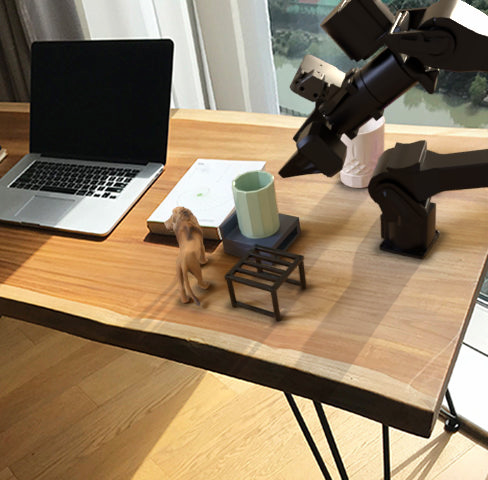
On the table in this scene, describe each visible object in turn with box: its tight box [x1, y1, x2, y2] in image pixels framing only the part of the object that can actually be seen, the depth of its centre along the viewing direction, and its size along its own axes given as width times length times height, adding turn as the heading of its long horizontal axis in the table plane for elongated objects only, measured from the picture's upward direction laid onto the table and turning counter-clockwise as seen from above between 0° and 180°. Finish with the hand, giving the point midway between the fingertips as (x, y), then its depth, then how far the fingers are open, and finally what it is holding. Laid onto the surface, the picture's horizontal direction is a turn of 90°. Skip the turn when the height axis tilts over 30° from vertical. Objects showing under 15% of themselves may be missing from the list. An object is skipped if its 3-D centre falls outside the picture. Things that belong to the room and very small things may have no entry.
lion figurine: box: [164, 206, 210, 307], centre depth 98 cm, size 15×5×9 cm, turn 6°
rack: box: [224, 244, 308, 322], centre depth 92 cm, size 8×8×6 cm
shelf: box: [218, 209, 302, 266], centre depth 102 cm, size 9×9×5 cm
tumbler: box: [231, 169, 280, 239], centre depth 100 cm, size 6×6×8 cm
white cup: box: [339, 115, 386, 189], centre depth 109 cm, size 8×8×10 cm
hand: (287, 157), depth 94 cm, fingers open, 9 cm apart
